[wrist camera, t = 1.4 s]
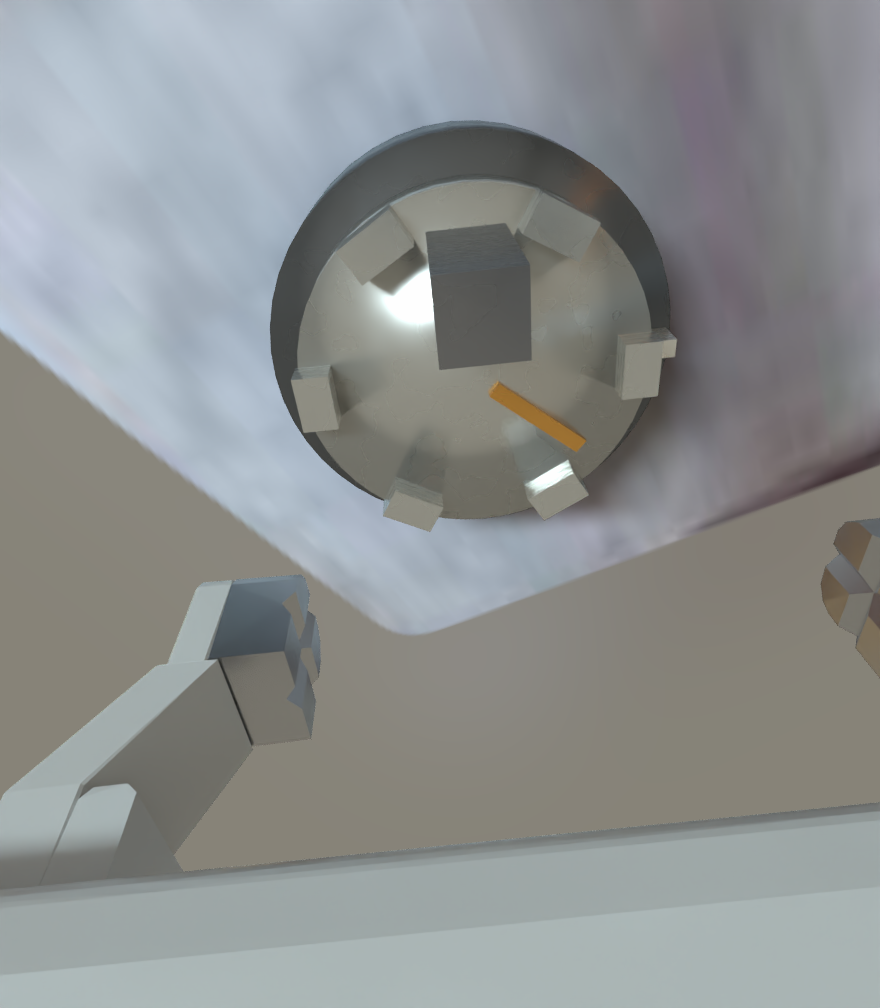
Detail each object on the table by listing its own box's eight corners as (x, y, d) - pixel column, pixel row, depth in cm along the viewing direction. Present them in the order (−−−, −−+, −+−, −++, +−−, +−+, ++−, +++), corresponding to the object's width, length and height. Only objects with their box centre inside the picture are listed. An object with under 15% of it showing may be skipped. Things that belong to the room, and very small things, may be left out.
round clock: (653, 153, 25) (742, 187, 18) (626, 481, 33) (680, 585, 27) (266, 196, 25) (215, 245, 18) (337, 510, 34) (320, 619, 27)
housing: (660, 97, 27) (710, 104, 23) (629, 460, 38) (659, 515, 33) (241, 144, 28) (209, 161, 23) (323, 491, 38) (312, 550, 33)
